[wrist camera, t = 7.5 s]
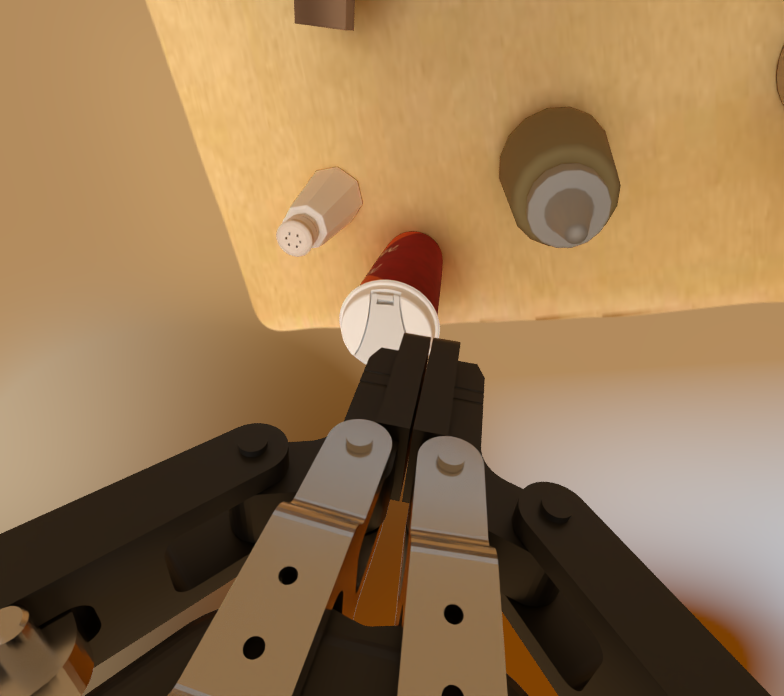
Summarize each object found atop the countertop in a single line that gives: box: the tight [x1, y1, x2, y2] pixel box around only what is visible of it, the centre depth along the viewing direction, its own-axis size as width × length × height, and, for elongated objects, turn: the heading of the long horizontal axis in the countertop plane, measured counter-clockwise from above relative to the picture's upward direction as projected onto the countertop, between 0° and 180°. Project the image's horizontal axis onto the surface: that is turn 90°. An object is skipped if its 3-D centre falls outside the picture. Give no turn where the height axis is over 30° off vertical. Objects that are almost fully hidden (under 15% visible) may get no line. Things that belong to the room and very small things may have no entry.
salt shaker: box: [276, 167, 363, 257], centre depth 41 cm, size 5×5×11 cm
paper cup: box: [340, 231, 443, 364], centre depth 42 cm, size 8×8×14 cm
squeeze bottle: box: [499, 107, 621, 248], centre depth 33 cm, size 8×8×18 cm
